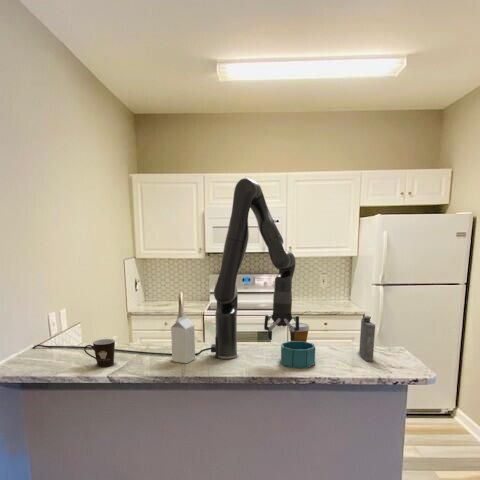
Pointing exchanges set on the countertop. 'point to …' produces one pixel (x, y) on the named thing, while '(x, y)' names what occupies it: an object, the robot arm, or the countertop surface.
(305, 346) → the teal octagonal bowl
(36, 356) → the countertop surface
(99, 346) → the coffee mug
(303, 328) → the disposable coffee cup
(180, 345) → the milk carton
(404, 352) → the countertop surface
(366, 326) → the flask
